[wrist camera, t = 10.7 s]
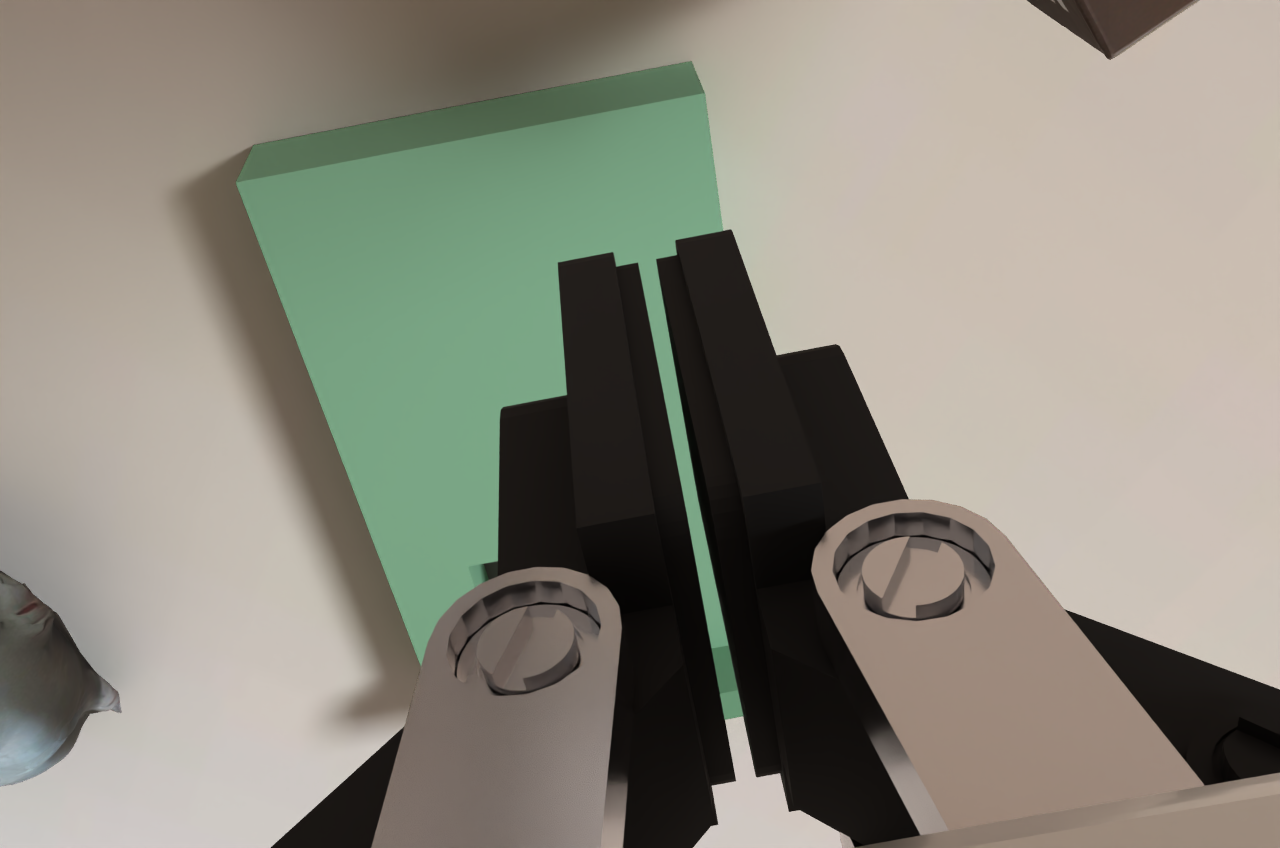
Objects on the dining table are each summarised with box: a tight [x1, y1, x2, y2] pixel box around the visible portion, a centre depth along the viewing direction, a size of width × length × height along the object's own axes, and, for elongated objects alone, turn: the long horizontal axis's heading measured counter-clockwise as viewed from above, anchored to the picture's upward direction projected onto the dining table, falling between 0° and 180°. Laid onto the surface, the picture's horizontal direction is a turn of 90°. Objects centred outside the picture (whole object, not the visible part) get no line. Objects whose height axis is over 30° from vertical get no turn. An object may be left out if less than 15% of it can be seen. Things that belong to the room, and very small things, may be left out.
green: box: [236, 61, 743, 719], centre depth 42 cm, size 14×24×5 cm, turn 9°
